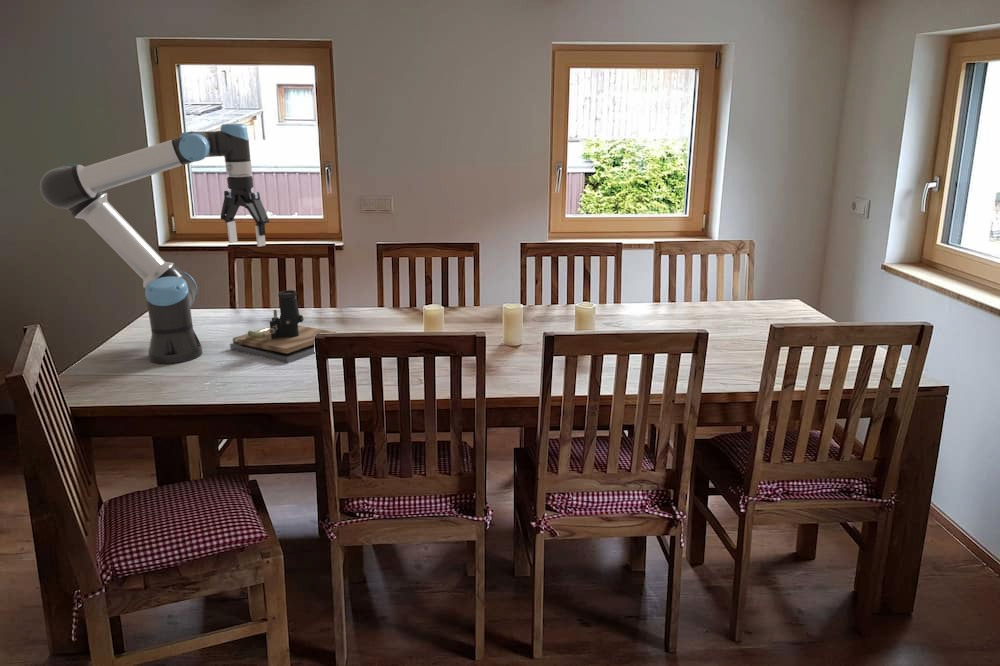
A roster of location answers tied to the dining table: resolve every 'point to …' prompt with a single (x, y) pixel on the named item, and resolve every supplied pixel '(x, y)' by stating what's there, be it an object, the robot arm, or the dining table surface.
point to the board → (282, 340)
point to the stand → (269, 353)
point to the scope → (286, 316)
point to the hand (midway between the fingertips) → (247, 244)
